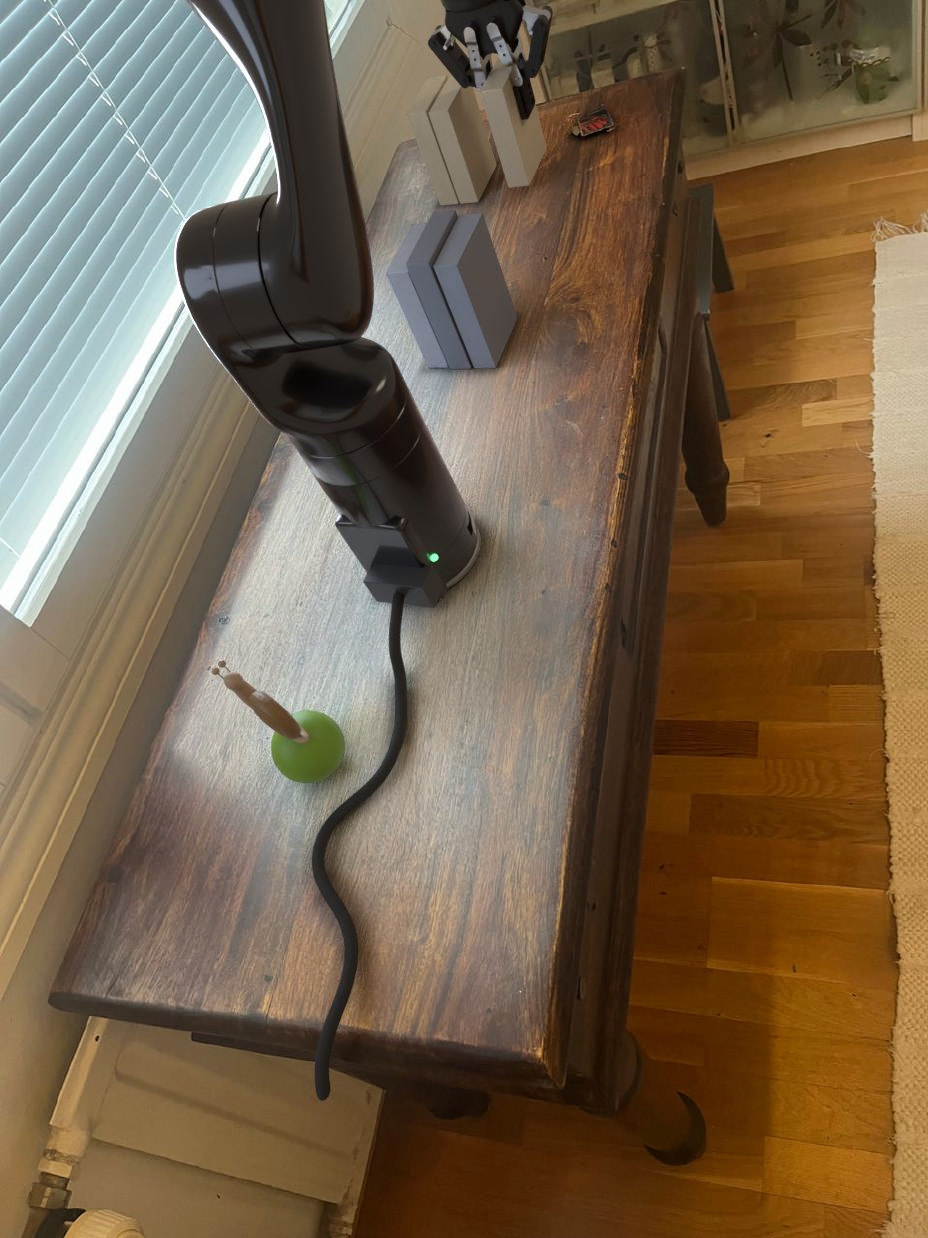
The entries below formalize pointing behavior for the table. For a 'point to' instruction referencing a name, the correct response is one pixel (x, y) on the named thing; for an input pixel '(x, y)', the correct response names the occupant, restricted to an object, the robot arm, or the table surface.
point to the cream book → (512, 129)
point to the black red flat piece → (594, 123)
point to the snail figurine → (293, 733)
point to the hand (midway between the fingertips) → (513, 116)
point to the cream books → (452, 140)
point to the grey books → (453, 291)
